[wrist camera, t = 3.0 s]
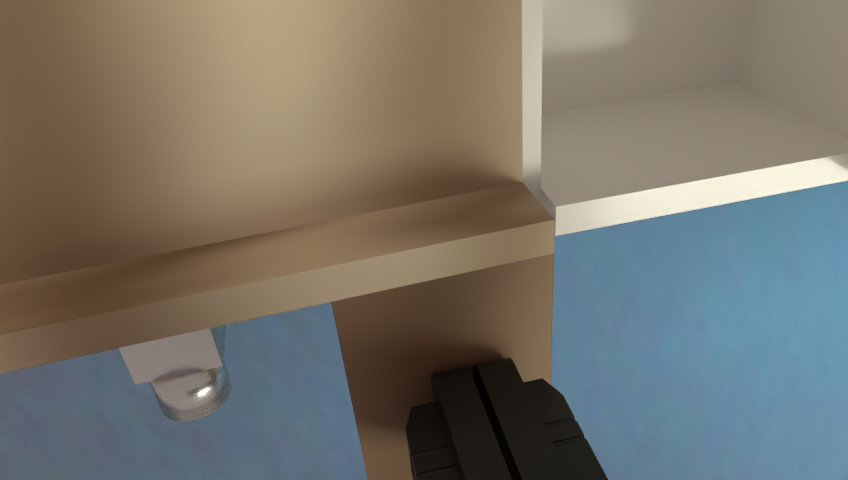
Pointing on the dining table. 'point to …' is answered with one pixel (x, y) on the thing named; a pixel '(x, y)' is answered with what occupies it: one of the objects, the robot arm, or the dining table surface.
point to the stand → (183, 372)
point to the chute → (274, 186)
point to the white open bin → (679, 104)
